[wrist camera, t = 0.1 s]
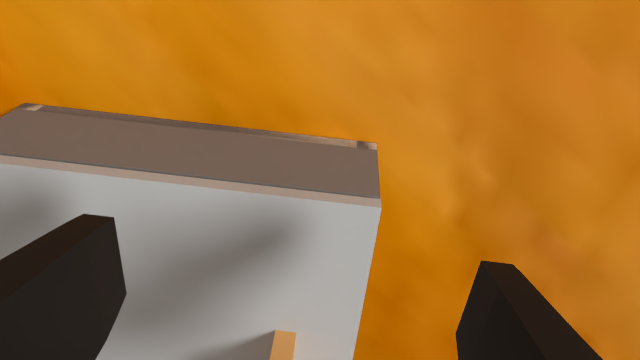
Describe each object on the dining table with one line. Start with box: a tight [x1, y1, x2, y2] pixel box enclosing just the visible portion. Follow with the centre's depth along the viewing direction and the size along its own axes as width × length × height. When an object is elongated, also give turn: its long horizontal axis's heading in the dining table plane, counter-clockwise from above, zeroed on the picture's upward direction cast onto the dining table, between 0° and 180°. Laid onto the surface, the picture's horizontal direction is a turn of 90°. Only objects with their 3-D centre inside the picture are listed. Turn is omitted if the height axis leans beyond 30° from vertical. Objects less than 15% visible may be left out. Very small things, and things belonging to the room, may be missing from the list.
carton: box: [0, 103, 380, 199], centre depth 21 cm, size 15×14×4 cm
